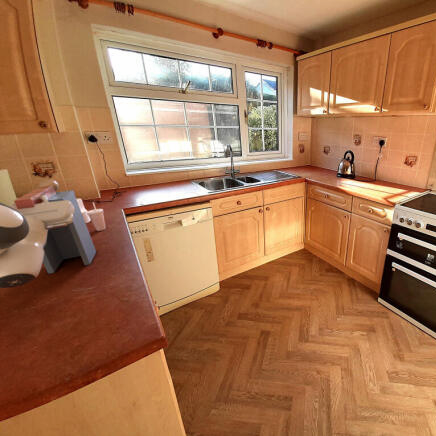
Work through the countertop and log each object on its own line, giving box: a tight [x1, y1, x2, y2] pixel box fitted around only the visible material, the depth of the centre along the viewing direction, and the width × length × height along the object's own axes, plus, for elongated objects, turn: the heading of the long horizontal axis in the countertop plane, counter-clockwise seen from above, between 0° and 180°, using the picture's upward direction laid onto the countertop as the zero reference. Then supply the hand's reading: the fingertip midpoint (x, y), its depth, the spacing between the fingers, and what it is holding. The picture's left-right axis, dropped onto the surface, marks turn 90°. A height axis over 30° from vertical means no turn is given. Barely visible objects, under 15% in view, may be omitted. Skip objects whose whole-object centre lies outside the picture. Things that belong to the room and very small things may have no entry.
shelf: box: [42, 190, 97, 275], centre depth 88 cm, size 12×12×26 cm
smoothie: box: [87, 201, 107, 232], centre depth 119 cm, size 6×6×14 cm
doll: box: [13, 178, 60, 209], centre depth 79 cm, size 23×5×5 cm, turn 27°
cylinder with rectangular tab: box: [76, 198, 92, 224], centre depth 129 cm, size 9×9×12 cm
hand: (32, 197), depth 75 cm, fingers closed on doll, 3 cm apart
